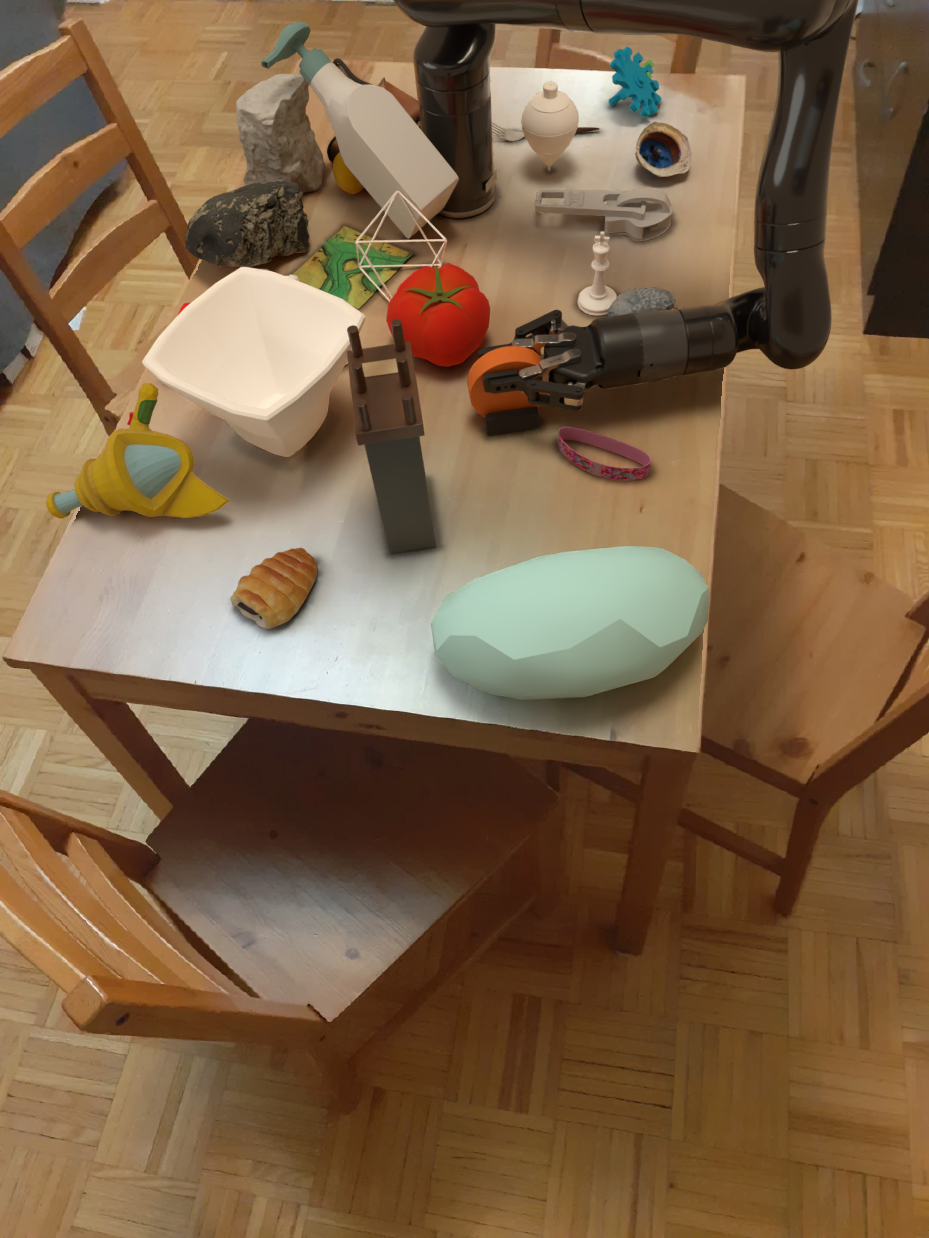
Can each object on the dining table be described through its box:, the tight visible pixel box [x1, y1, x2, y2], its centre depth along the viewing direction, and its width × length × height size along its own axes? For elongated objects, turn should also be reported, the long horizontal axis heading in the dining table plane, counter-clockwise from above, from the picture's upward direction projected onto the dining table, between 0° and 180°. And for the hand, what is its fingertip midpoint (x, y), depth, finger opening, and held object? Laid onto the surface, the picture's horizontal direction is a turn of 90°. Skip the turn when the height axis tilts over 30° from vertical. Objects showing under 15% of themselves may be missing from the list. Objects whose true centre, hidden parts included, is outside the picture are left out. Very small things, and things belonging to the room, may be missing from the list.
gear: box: [608, 46, 662, 119], centre depth 135 cm, size 11×6×10 cm
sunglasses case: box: [326, 77, 420, 165], centre depth 136 cm, size 18×7×7 cm
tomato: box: [385, 262, 491, 367], centre depth 110 cm, size 13×12×8 cm
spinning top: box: [520, 81, 580, 172], centre depth 125 cm, size 8×8×12 cm
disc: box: [466, 346, 549, 418], centre depth 103 cm, size 9×2×9 cm, turn 98°
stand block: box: [364, 436, 437, 555], centre depth 93 cm, size 5×9×18 cm, turn 8°
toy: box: [45, 382, 230, 519], centre depth 100 cm, size 10×20×15 cm
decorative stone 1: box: [235, 73, 327, 194], centre depth 126 cm, size 10×9×15 cm
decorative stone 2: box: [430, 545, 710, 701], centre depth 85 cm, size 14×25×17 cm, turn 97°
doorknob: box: [332, 152, 365, 195], centre depth 128 cm, size 8×8×8 cm
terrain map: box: [291, 225, 414, 310], centre depth 122 cm, size 12×12×1 cm
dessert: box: [634, 121, 693, 178], centre depth 126 cm, size 8×7×6 cm
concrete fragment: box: [184, 181, 310, 268], centre depth 122 cm, size 15×10×15 cm
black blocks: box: [484, 407, 540, 437], centre depth 106 cm, size 6×5×2 cm
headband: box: [557, 426, 652, 482], centre depth 102 cm, size 11×4×2 cm, turn 63°
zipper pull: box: [534, 187, 674, 243], centre depth 122 cm, size 8×18×4 cm, turn 82°
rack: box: [347, 319, 426, 446], centre depth 83 cm, size 6×10×4 cm, turn 8°
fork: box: [492, 121, 600, 142], centre depth 134 cm, size 3×16×2 cm, turn 89°
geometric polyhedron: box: [356, 191, 448, 303], centre depth 116 cm, size 12×11×9 cm
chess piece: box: [577, 230, 618, 317], centre depth 112 cm, size 5×5×10 cm
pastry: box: [230, 547, 318, 630], centre depth 95 cm, size 9×7×4 cm
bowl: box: [141, 266, 366, 458], centre depth 102 cm, size 19×19×14 cm
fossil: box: [606, 286, 676, 317], centre depth 113 cm, size 8×4×5 cm
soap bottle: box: [260, 21, 459, 240], centre depth 117 cm, size 11×8×27 cm
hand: (482, 371), depth 101 cm, fingers open, 3 cm apart
